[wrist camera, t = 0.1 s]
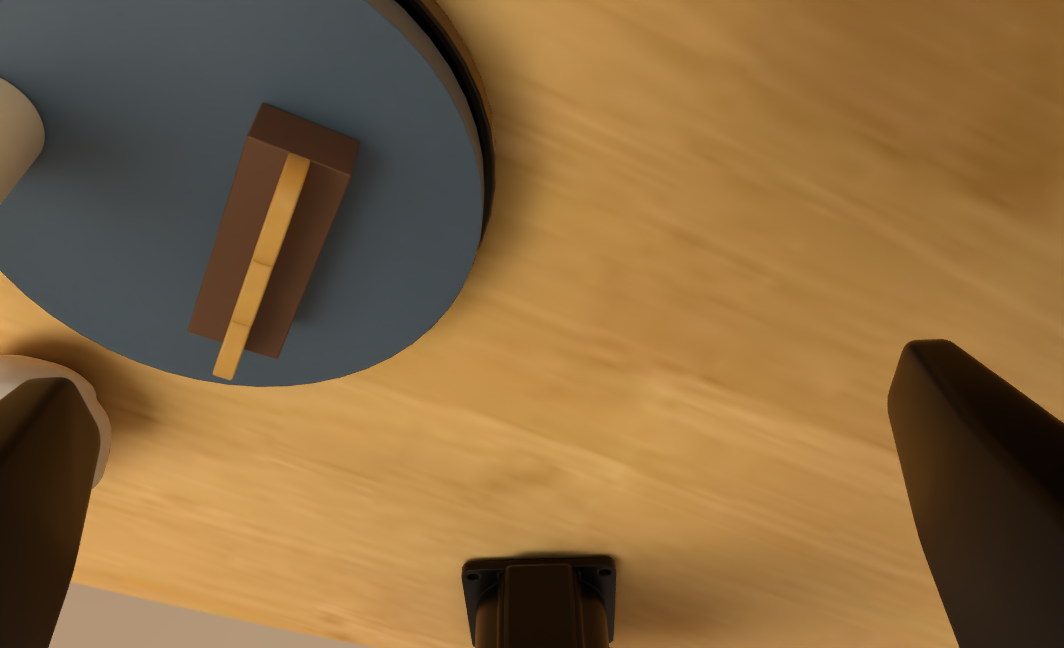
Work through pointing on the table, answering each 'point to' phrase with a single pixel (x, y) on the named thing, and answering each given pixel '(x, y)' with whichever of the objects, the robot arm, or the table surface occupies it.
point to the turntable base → (461, 85)
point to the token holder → (235, 181)
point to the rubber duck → (15, 369)
